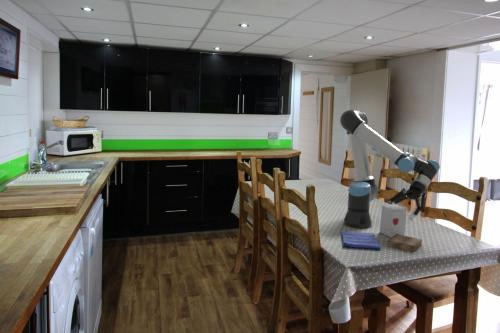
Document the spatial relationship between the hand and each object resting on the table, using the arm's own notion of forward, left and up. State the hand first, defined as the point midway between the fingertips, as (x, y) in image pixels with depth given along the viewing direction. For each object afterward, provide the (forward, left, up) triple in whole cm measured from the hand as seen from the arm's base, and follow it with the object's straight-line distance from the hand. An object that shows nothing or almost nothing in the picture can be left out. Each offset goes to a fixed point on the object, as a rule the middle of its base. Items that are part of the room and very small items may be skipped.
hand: (398, 216), depth 199 cm
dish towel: (-11, -24, -11) cm, 28 cm away
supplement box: (-2, -2, -10) cm, 10 cm away
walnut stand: (+8, -15, -10) cm, 20 cm away
